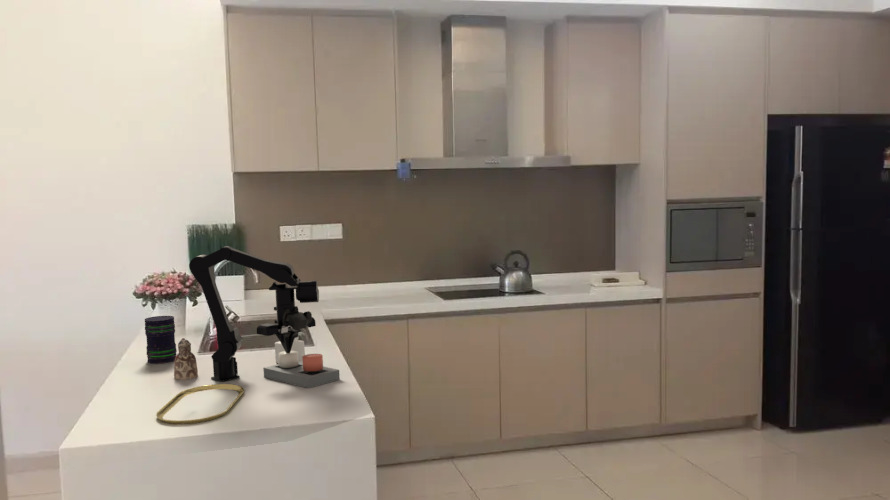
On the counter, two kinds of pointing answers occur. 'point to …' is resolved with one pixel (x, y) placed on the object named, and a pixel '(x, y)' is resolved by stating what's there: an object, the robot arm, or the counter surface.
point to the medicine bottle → (296, 346)
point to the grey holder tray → (301, 375)
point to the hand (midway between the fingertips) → (288, 352)
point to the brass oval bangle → (193, 390)
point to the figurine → (185, 362)
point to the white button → (288, 359)
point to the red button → (312, 362)
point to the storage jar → (160, 339)
